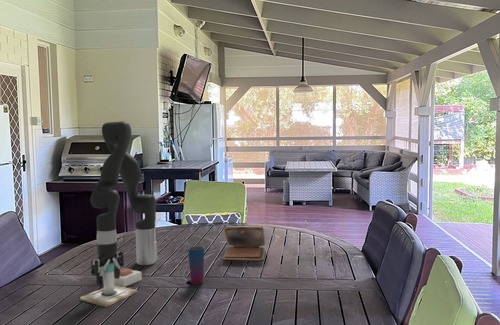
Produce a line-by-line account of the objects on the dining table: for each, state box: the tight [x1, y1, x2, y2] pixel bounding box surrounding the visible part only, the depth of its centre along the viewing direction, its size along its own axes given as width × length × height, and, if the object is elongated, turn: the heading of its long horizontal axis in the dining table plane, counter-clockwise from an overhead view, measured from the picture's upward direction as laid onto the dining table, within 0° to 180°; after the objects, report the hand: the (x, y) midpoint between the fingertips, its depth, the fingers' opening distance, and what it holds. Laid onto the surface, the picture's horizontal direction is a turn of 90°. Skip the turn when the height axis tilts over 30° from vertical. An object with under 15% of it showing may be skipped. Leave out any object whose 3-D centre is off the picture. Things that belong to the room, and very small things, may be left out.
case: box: [222, 225, 266, 262], centre depth 232 cm, size 20×21×16 cm
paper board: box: [79, 285, 138, 308], centre depth 179 cm, size 16×14×1 cm
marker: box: [102, 262, 115, 295], centre depth 179 cm, size 4×4×12 cm
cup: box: [187, 245, 205, 285], centre depth 193 cm, size 7×7×15 cm
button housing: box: [114, 269, 143, 288], centre depth 196 cm, size 10×10×4 cm
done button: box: [120, 267, 133, 276], centre depth 196 cm, size 4×4×3 cm
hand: (108, 281), depth 179 cm, fingers open, 8 cm apart
